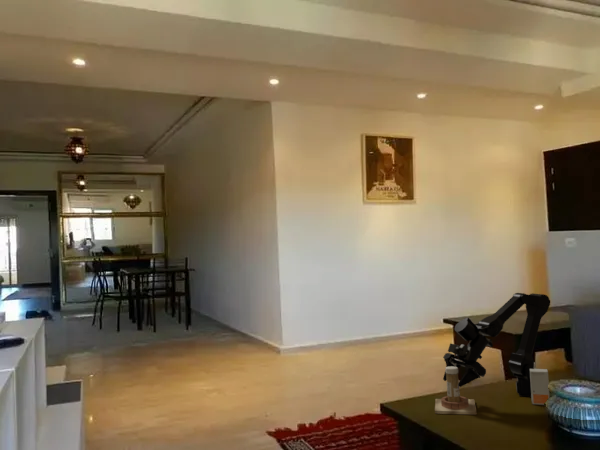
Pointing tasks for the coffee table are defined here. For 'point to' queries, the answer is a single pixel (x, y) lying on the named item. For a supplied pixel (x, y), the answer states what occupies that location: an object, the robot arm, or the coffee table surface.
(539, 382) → the skincare box
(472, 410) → the collar base
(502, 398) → the coffee table surface
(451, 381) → the sprinkles bottle
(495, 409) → the coffee table surface
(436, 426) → the coffee table surface
